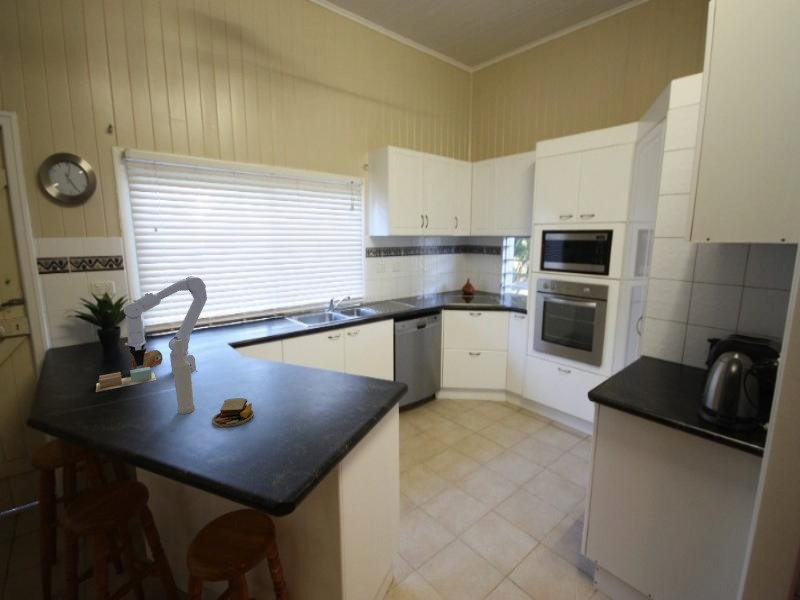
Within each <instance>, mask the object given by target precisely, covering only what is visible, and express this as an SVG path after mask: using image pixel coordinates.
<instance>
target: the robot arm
mask: <svg viewBox="0 0 800 600" xmlns="http://www.w3.org/2000/svg"><path fill="white" fill-rule="evenodd" d="M180 291H182V292H183V291H186V292H190V294H191V296H192V298H193V301H192V302H191V304H190V307H189V309H188V310H187V312H186V315H185V316H184V319H183V321H182V323H181V325H180V327H179V330H178V331H177V332H176V333H175V335H174V337H172V338H171V339H170V340H169V342H168V348H169V349H170V350H171V351H170V353H169V358H170V359H169V360H170V366H171V373H172V374H173V367H172V366H173V365H174V364H175V363H176V361H177V353H176V345H175V341H176V340H182V344H183V354H184V359H185V361H187V362H189V363H190V369H191V373H192V372H194V371H195V372H198V371H199V370H198V369H197V368H196V367H197V366H196V358H195V356H194V355H193V354H191V353H190V352H189V342H190V341H191V334H192V332H193V330H194V329H195V327H196V323H197V321H198V320H199V318H200V316H201V313H202V311H203V309H204V307H205V304H206V302H207V301H208V296H207V289H206V284H205V282H204V281H203V280H202V279H201V277H198V276H197V277H196V276H192V275H191V276H188V277H186V278H183V279H180V280H177V281H176V282H174V283H173V284H170V285H169V286H167V287H165V288H164V289H161V290H160V291H158V292H157V293H156V292H155V293H154V292H149V293H148V292H146V293H144V296H141V297H140V298H138V299H133V300H132V301H133V302H128V303H127V304H126V305H125V306H124V308H123V313H124V315H125V326H126V334H127V342H125V343H124V345H125V346H126V347H127V346H128V348H129V352H130V353H131V355H132V357H133V358H134V359H135V362H136V365H137V366H141V365H143V363H144V355H145V352H147V348H146V347H145V346H146V343H147V342H146V339H145V331H144V329H145V328H144V324H143V321H144V320H143V319H142V314H143V313H145V312H147V311H150V310H151V309H154V308H155V307H157V306H159V305H160V304H161V302H162V301H161V300H164V299H165V298H168V297H169V296H171V295H173V294H176V293H178V292H180Z"/></svg>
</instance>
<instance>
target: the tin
mask: <svg viewBox="0 0 800 600" xmlns="http://www.w3.org/2000/svg"><path fill="white" fill-rule="evenodd" d="M162 363H163V354H162V352H161V351H160V350H158V349H153V350H148V351H146V352H145V355H144V363H143V365H141V366H137V365H136V362H135V359H134V357H133V358H132V359H131V361H130V366H131V370H134V369H140V368H146V367H150V369H151V368H153V367H156V366H158V365H161V364H162Z"/></svg>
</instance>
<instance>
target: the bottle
mask: <svg viewBox="0 0 800 600" xmlns="http://www.w3.org/2000/svg"><path fill="white" fill-rule="evenodd" d="M175 345H176V353H177V361H176V363H175V364H174V365H173V366H172V367H173V373H172V374H173V379H174V386H175V394H176V401H177V409H176V410H177V412H178V414H179V415H187V414H190V413H193V412H194V411H195V409H196V407H195V403H194V396H193V394H194V392H193V385H192V383H193V382H192V372H191V369H190V363H189V362H187V361H185V359H184V354H183V344H182V340H176V341H175Z"/></svg>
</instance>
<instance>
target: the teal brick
mask: <svg viewBox="0 0 800 600" xmlns="http://www.w3.org/2000/svg"><path fill="white" fill-rule="evenodd" d="M129 373H130V377H131V380H132V382H137V381H142V380H147V379H152V375H151V373H152V369H151V368H150V367H146V368H140V369H134V370H132V369H130V370H129Z"/></svg>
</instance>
